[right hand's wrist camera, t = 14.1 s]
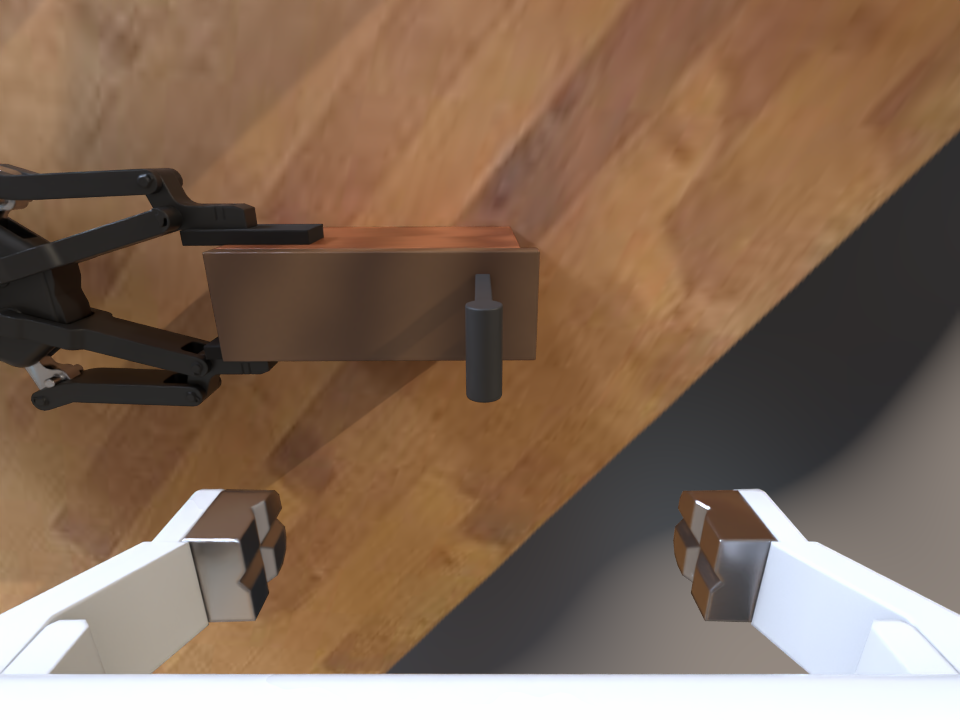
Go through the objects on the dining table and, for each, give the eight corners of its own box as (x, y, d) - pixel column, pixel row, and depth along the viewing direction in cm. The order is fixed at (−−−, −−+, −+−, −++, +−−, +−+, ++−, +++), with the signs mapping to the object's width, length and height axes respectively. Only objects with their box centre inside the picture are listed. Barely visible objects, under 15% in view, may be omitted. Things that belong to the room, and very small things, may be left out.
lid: (537, 247, 26) (561, 283, 18) (533, 353, 28) (554, 424, 20) (212, 248, 26) (104, 285, 18) (231, 354, 28) (141, 426, 20)
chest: (510, 226, 34) (520, 247, 26) (508, 309, 36) (518, 353, 28) (276, 227, 34) (213, 248, 26) (287, 310, 36) (232, 354, 28)
